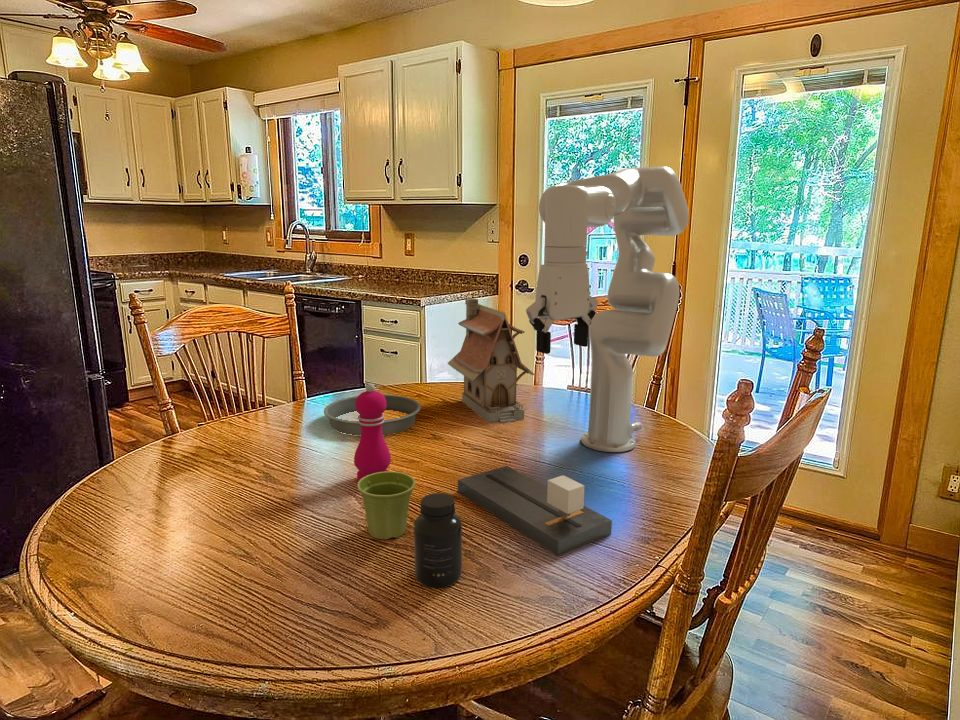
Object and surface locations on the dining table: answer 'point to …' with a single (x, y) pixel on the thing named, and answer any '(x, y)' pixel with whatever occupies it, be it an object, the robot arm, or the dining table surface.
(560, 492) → the fader knob
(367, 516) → the plant pot
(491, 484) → the fader console
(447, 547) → the supplement bottle
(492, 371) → the miniature house
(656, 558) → the dining table surface
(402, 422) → the cake pan
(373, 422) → the pepper mill
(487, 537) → the dining table surface
